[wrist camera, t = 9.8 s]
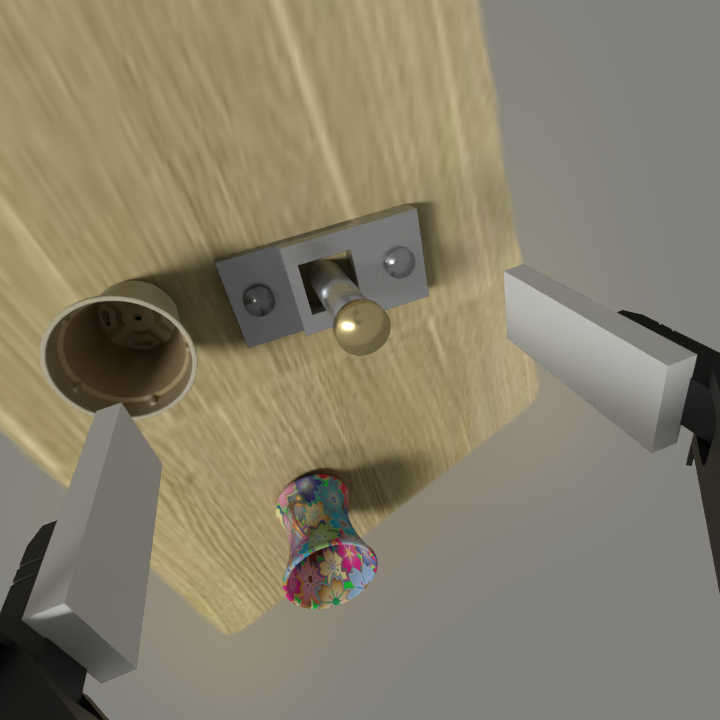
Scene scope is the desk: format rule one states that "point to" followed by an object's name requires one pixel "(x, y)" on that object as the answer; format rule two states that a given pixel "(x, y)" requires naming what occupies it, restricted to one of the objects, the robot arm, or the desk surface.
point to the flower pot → (120, 352)
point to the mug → (322, 544)
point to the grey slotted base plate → (281, 258)
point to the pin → (349, 310)
